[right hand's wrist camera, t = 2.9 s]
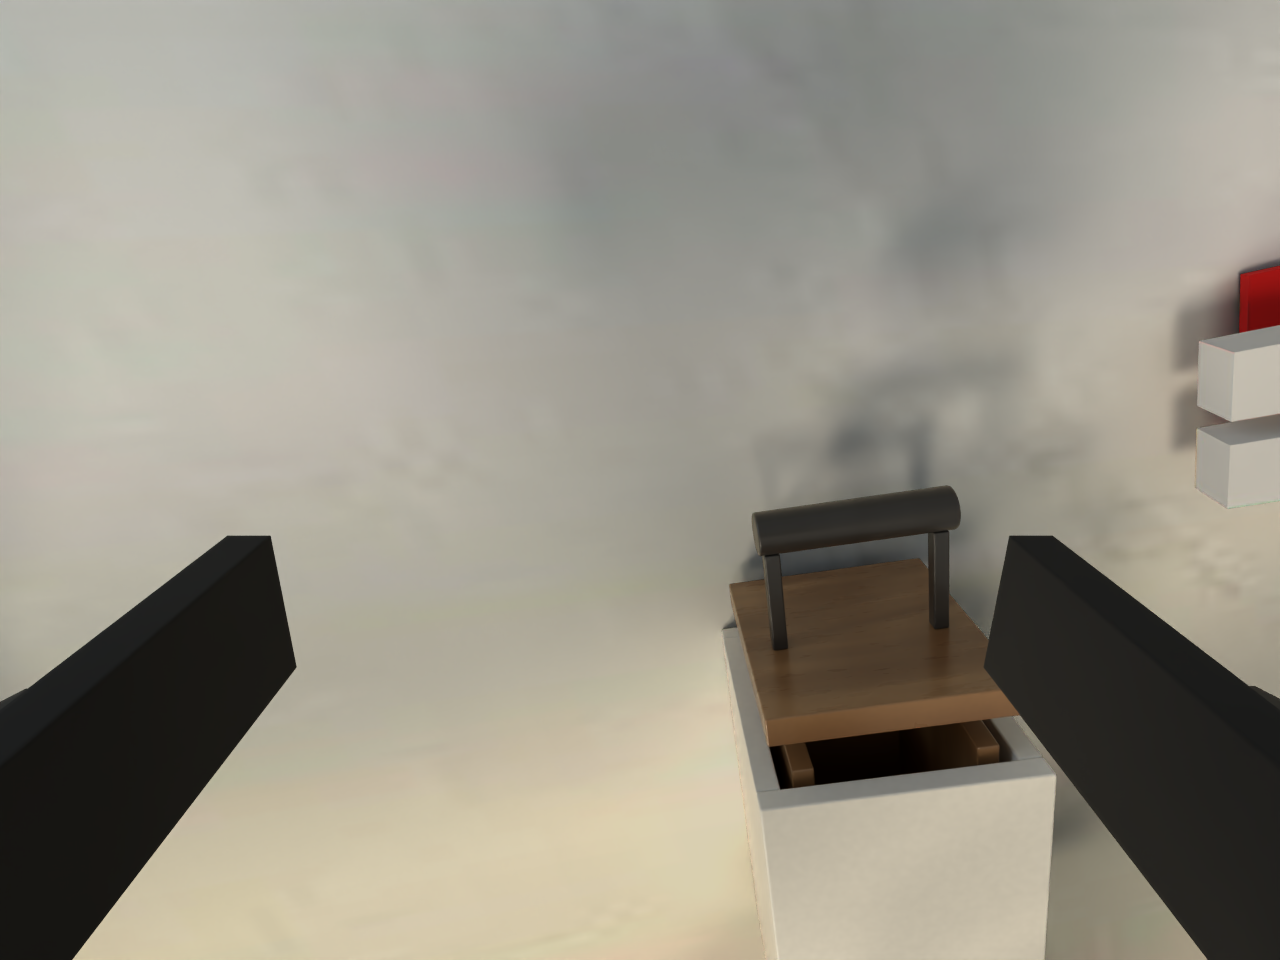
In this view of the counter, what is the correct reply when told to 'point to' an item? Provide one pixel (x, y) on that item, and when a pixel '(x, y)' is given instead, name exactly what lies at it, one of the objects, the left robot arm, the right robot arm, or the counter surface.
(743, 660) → the cabinet
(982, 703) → the drawer
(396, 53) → the counter surface
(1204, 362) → the toy
